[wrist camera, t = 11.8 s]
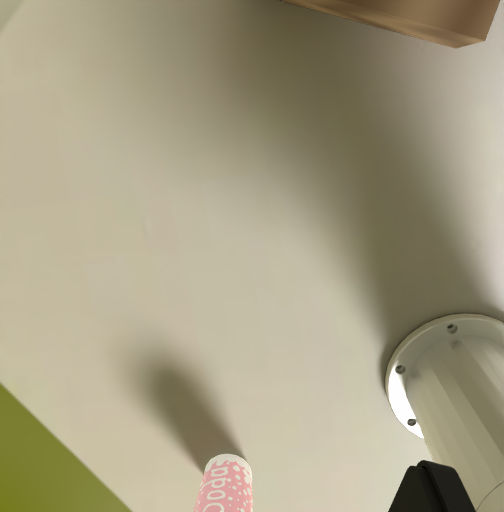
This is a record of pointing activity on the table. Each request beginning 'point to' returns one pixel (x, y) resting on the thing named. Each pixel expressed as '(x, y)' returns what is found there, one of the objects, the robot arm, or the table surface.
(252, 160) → the table surface
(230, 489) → the beverage cup
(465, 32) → the display stand
